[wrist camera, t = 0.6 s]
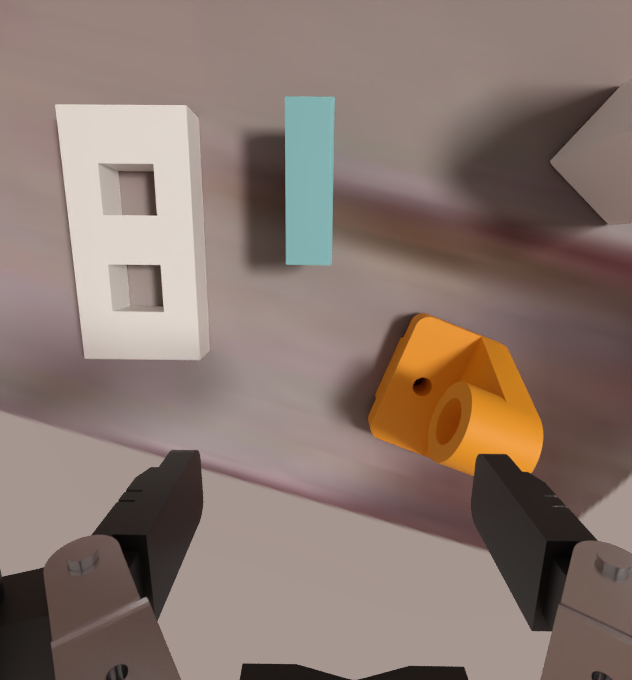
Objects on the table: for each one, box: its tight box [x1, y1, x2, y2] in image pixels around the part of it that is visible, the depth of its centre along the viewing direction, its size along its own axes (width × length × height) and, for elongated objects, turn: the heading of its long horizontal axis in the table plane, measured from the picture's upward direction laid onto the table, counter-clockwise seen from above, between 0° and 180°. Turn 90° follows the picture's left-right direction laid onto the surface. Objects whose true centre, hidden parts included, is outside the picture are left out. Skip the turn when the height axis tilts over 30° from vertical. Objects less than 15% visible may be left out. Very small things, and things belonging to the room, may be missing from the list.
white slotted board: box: [55, 104, 210, 360], centre depth 32 cm, size 18×9×3 cm, turn 0°
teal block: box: [285, 97, 335, 265], centre depth 29 cm, size 10×3×6 cm, turn 179°
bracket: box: [368, 313, 543, 476], centre depth 30 cm, size 11×7×12 cm, turn 159°
